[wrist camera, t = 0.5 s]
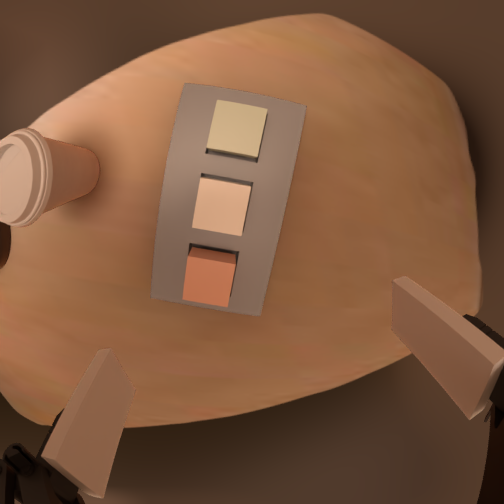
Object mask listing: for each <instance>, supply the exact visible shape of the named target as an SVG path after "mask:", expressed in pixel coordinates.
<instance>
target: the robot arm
mask: <svg viewBox="0 0 504 504" xmlns="http://www.w3.org/2000/svg"><path fill="white" fill-rule="evenodd" d="M9 250H10V227H9V225H7V224H6V223H3V222H1V221H0V269H1V268H2V267H3V266H4V264H5V263H6V261H7V258H8V255H9ZM392 331H393V332H394V333H395V334H396V335H397V336H398V337H399V338H400V340H401V341H402V342H403V343H404V344H405V345H406V346H407V347H408V348H409V349H410V351H411V352H412V353H413V354H414V355H415V356H416V357H417V358H418V360H419V361H420V362H421V363H422V364H423V365H424V366H425V367H426V369H427V370H428V371H429V372H430V373H431V374H432V376H433V377H434V378H435V379H436V380H437V381H438V382H439V384H440V385H441V386H442V387H443V388H444V390H445V391H446V392H447V393H448V394H449V396H450V397H451V398H452V399H453V400H454V402H455V403H456V404H457V405H458V407H459V408H460V409H461V410H462V411H463V413H464V414H465V415H466V416H467V418H468V419H469V420H470V419H471V418H473V417H474V416H476V415H477V414H478V413H480V412H481V411H482V410H484V407H485V406H486V404H487V402H488V400H489V399H490V400H491V401H492V402H493V404H492V406H491V408H490V410H489V412H488V414H487V415H486V417H485V420H484V422H487V420H488V418H489V416H490V415H491V418H490V432H489V442H488V451H487V458H486V464H485V470H484V476H483V481H482V485H481V489H480V494H479V498H478V501H477V504H504V338H502V337H501V336H500V335H499V334H498V333H496V332H495V331H492V329H491V328H490V327H488V326H486V324H485V323H483V322H482V321H481V320H479V319H478V318H475V317H473V316H470V315H467V314H466V315H464V316H461V315H460V314H458V313H457V312H456V311H454V310H453V309H452V308H450V307H449V306H448V305H446V304H445V303H444V302H442V301H441V300H439V299H438V298H437V297H435V296H434V295H432V294H431V293H430V292H428V291H427V290H425V289H424V288H423V287H421V286H420V285H418V284H417V283H415V282H414V281H412V280H411V279H410V278H408V277H407V276H403V277H400V278H398V279H395V280H392ZM135 391H136V389H135V388H134V386H133V385H132V383H131V381H130V380H129V378H128V376H127V375H126V373H125V371H124V370H123V368H122V366H121V365H120V363H119V361H118V359H117V358H116V356H115V354H114V352H113V351H112V349H111V348H107V349H99V350H98V352H97V353H96V355H95V356H94V358H93V360H92V361H91V363H90V365H89V366H88V368H87V370H86V371H85V373H84V375H83V377H82V378H81V380H80V382H79V383H78V385H77V387H76V389H75V390H74V392H73V394H72V396H71V398H70V399H69V401H68V403H67V405H66V407H65V408H64V409H63V410H62V411H61V412H60V413H59V414H58V415H57V416H56V418H55V420H54V422H53V424H52V425H53V426H51V428H50V430H49V433H48V434H47V436H46V438H45V440H44V442H43V444H42V446H41V448H40V450H39V452H38V454H37V457H36V458H35V457H34V456H33V455H32V454H30V452H28V451H27V449H25V448H24V446H22V445H21V444H20V443H14V444H12V445H10V446H9V447H8V448H7V449H6V450H5V452H4V454H3V460H2V459H0V504H14V498H15V499H16V500H17V501H19V502H20V503H21V504H85V503H84V500H83V498H82V497H81V496H80V494H78V493H77V492H78V489H81V490H82V491H83V492H85V493H86V494H87V495H90V496H94V497H99V498H103V497H104V493H105V490H106V486H107V482H108V478H109V474H110V471H111V467H112V464H113V460H114V457H115V453H116V450H117V447H118V443H119V440H120V437H121V433H122V430H123V427H124V424H125V421H126V418H127V415H128V412H129V409H130V406H131V403H132V400H133V397H134V394H135Z"/></svg>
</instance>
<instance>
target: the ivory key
mask: <svg viewBox="0 0 504 504" xmlns="http://www.w3.org/2000/svg"><path fill="white" fill-rule="evenodd" d="M250 191H251V186H250V185H246V184H240V183H235V182H230V181H224V180H218V179H213V178H207V177H201V178H200V183H199V188H198V194H197V200H196V205H195V211H194V218H193V224H192V228H197V229H203V230H209V231H214V232H220V233H226V234H231V235H237V236H242V231H243V226H244V221H245V216H246V211H247V206H248V201H249V196H250Z"/></svg>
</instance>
